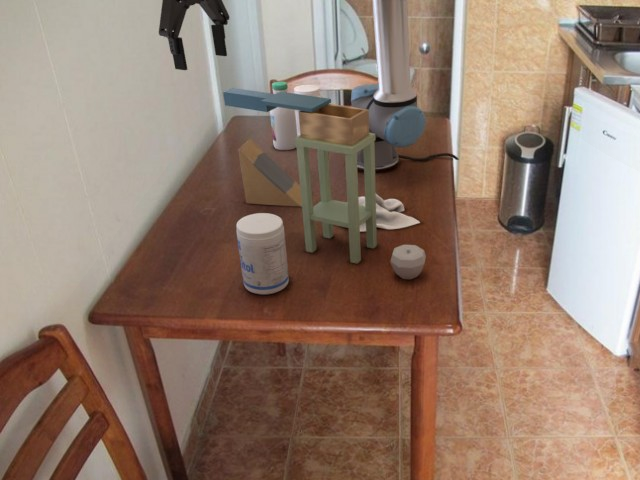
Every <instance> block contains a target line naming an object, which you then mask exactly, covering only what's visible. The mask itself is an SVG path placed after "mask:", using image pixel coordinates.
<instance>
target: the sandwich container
mask: <svg viewBox="0 0 640 480" xmlns="http://www.w3.org/2000/svg"><path fill="white" fill-rule="evenodd" d="M237 150H238V158H239V165H240V170H241V171H240V173H241V177H242V184H243V191H244V198H245V204H250V205H251V204H252V205H254V204H255V205H263V206H265V205H267V206H282V207H283V206H284V207H301V208H302V202H301V191H300V183H299V182H297V181H296V180H295V179H293V178H292V177H291V176H290V175H289V174H288V173H287V172H286V171H284V169H282V167H281V166H279V165H278V164H277V163H276V162H275V161H274V160H273V159H272V158H271V157H270V156H269V155H268V154H267V153H266V152H264V151H263V150H262V149H261V148H260V146H259V145H257V144H256V143H255V142H254V141H253V140H252V139H251V138H249V139H248V140H247V141H246V142H245V143H243V144H242V145H241V146H240V147H239V148H238V149H237Z"/></svg>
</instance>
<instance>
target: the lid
mask: <svg viewBox="0 0 640 480" xmlns="http://www.w3.org/2000/svg"><path fill="white" fill-rule="evenodd" d="M222 95H223V102H224V106H226V107H233V108H239V109H245V110H250V111H258V112H264V113H270V111H271V110H273V109H275V108H277V107H281V108H287V109H294V110H300V111H307V112H314V111H316V110H318V109H320V108H321V107H323V106H325V105H327V104H332V98H328V97H322V98H321V97H314V96H307V95H300V94H294V92H288V91H287V92H279V93H277V94H274V93H271V92H264V91H258V90H251V89H244V88H236V87H232V88H229V89H227V90H224V91H222Z"/></svg>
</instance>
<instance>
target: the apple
mask: <svg viewBox="0 0 640 480" xmlns="http://www.w3.org/2000/svg"><path fill="white" fill-rule="evenodd" d="M426 258H427V255H426V252H425V250H424V249H423V248H421V247H420V246H418V245H416V244H402V245H399V246H396V247H394V248H393V251H392V253H391V258H390V260H389V261H390V264H391V267H392V270H393V272H394V273H395V274H396V275H397V276H399V277H400V278H401V279H403V280H413V279H415V278H417V277H419V275H421V273H422V271H423V269H424V266H425V264H426V263H425V262H426Z"/></svg>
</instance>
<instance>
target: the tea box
mask: <svg viewBox="0 0 640 480" xmlns="http://www.w3.org/2000/svg"><path fill="white" fill-rule="evenodd" d="M299 123H300V133H301V134H300V135H301V137H303V138H309V139H314V140H320V141H326V142H332V143H338V144H344V145H349V146H353V145H354V144H356V143H357V142H359V141H360V140H362V139H363V138H365V137H367V136H368V135H369V110H368V109H361V108H355V107H352V106H348V105H340V104H333V103H329V104H327V105H325V106H323V107H321V108H320V109H318V110H316V111H314V112H307V111H299Z"/></svg>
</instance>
